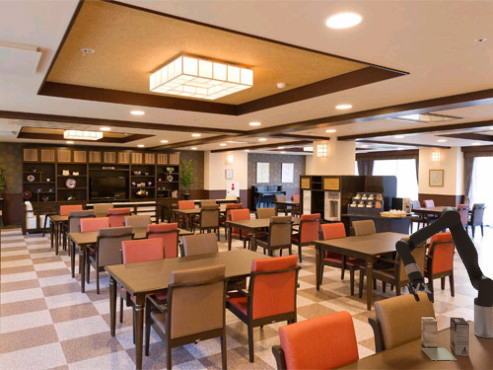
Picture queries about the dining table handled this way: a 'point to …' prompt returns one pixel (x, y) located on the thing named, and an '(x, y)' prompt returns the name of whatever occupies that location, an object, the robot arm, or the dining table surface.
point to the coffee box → (459, 336)
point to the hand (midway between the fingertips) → (425, 301)
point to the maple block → (429, 332)
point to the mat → (438, 354)
